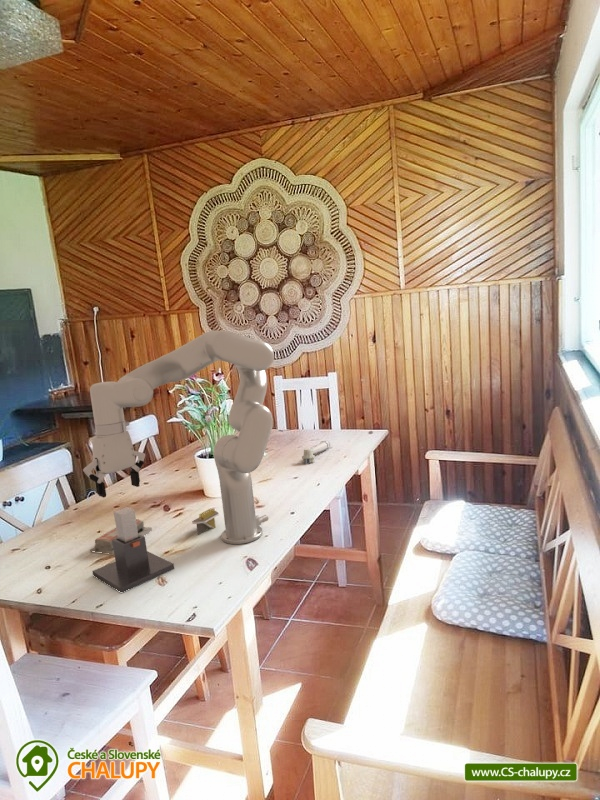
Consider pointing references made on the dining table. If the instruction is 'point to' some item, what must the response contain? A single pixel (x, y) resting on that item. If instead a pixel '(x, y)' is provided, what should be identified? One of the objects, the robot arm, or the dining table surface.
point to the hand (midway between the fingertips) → (119, 490)
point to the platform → (206, 520)
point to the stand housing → (132, 565)
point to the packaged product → (105, 540)
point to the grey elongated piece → (314, 451)
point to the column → (126, 525)
